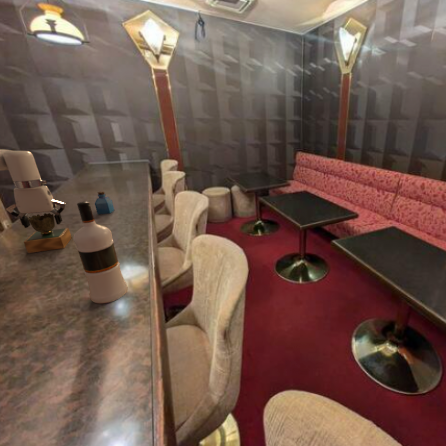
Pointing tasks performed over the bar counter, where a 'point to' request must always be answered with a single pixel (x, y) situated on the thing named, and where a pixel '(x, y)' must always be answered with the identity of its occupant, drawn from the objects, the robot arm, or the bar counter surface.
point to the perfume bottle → (103, 204)
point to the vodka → (98, 258)
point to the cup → (43, 223)
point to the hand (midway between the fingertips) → (43, 225)
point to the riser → (48, 240)
